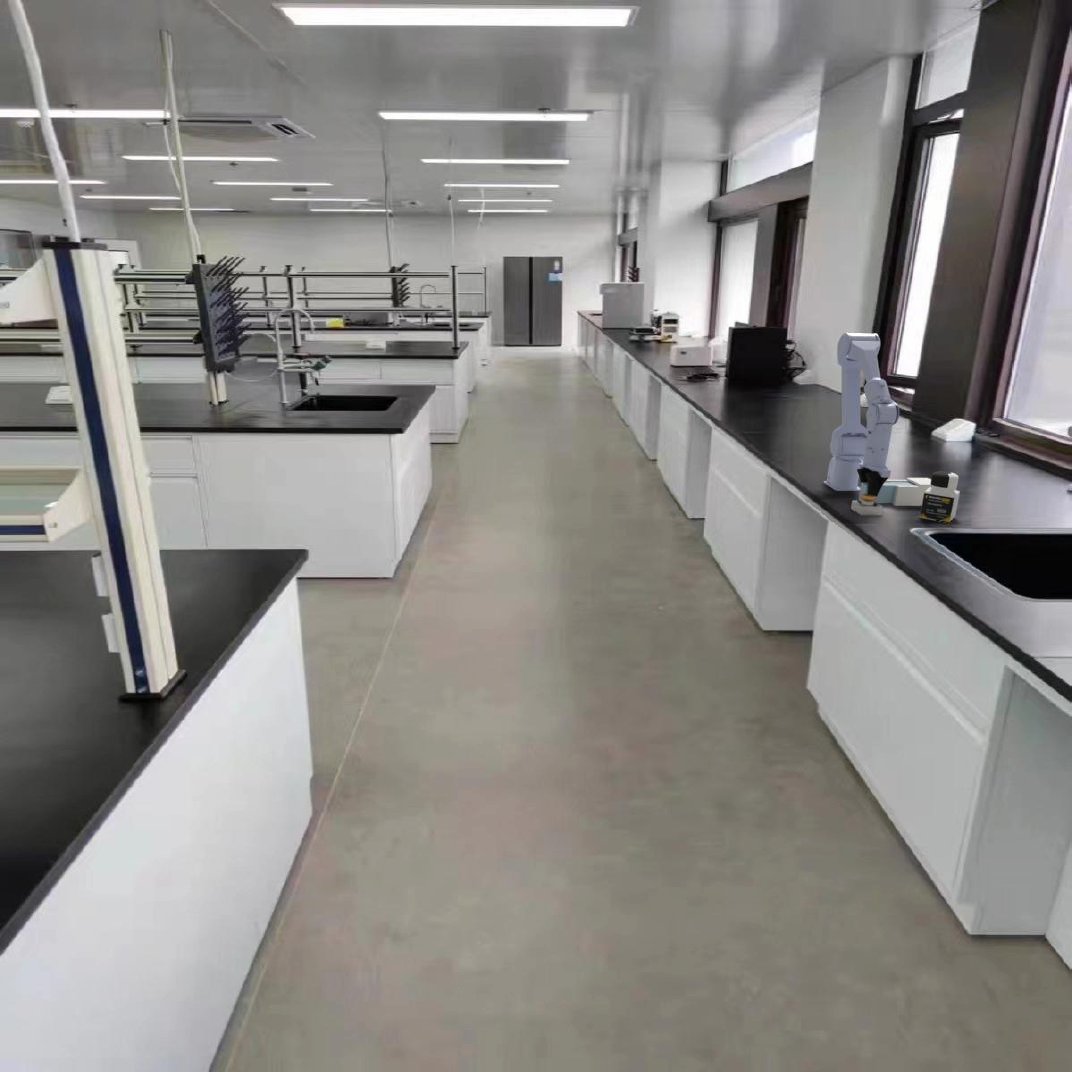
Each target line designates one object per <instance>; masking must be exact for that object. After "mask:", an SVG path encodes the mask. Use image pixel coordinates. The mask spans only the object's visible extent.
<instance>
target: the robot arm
mask: <svg viewBox="0 0 1072 1072" xmlns="http://www.w3.org/2000/svg"><path fill="white" fill-rule="evenodd" d="M836 348H837V349H836V350H837V351H836V352H837V353H836V355H837V357H836V359H837V364H838V365H839V366H840V367H841V424H840V425H839V426H837V427H836V428H835V429H834V430H833V431H832V432H831V440H830V443H829V450H830V453H831V455H832V458H830V461H829V463H828V468H827V469H828V470H827V478H826V480H824V481H823V483H824V484H825V485H826V486H828V487H830V488H831V489H833V490H834V491H835V492H836V491H837V492H860V489H861V486H860V487H859V484H858V483H859V481H860V484H861V483H868V493H867V494H871V495H875V496H876V497H877V496H878V493H879V491H880V489H881V487H882V486H883V484H884V483H885V481H886V480H889V478H890V477H891V472H892V470H891V469H889V467H888V465H887V459H888V455H889V450H890V443H891V436H892V432H893V431H892V430H893V426H894V425H895V424H897V423H898V421H899V418H900V407H899V405H898V404H897V403H896V402H895V400H893V399H891V395H890V391H889V387H888V383H887V381H886V380H885V379H883V378H881V373H880V368H879V360H878V354H879V351H880V348H881V339H880V336H879V334H878V333H875V332H874V333H849V332H844V333H842V335H840V337H839V340H838V341H837V347H836ZM861 372H862V374H863V377H864V379H865V381H866V383H865V385H864V386H863V392H864V396H865V398H866V403H867V406H868V408H867V410H866V414H865V415H866V416H865V417H866V426H864V425H863V424H861Z"/></svg>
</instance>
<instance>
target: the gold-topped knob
mask: <svg viewBox="0 0 1072 1072" xmlns="http://www.w3.org/2000/svg"><path fill="white" fill-rule="evenodd" d="M876 498H877V497H876V496H875V495H871V494H862V495H861V499H862V502H861V504H862V505H864V506H873V505H874V500H876Z"/></svg>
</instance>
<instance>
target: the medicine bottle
mask: <svg viewBox="0 0 1072 1072" xmlns="http://www.w3.org/2000/svg"><path fill="white" fill-rule="evenodd" d="M930 479H931V483H930V488H928V489H927V490H926V491H925V492H924V496H923V501H922V506H921V507H920V511H919V518H920V519H925V520H931V521H936V520H940V521H939V522H941V521H947V522H950V521H951V520H952V521H953V519H955V517H956V512H957V508H958V505H959V499H960V495H961V494H960V493H961V492H960V490H957V488H958V483H959V475H958V474H956V473H954V472H950V471H947V470H943V471H941V470H939V471H934V472H933V473H932V474H931V478H930ZM952 521H951V522H952ZM951 522H950V523H951Z"/></svg>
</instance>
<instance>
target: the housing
mask: <svg viewBox="0 0 1072 1072" xmlns="http://www.w3.org/2000/svg"><path fill="white" fill-rule="evenodd" d="M889 482H912V483H914V484H916V485H918V486H903V485H896V489H895V495H894V501H893V503H892V505H893V506H896V507H898V506H901V507H903V506H904V507H905V506H906V507H907V506H908V507H910V506H911V507H920V506H922V501H923V496H924V492H925V491H926V490H927V489H928V488H930V483H931V478H929V477H906V479H887V480H886V481H885V483H889Z"/></svg>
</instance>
